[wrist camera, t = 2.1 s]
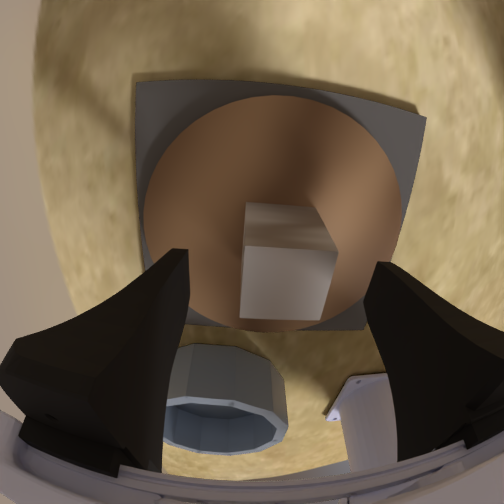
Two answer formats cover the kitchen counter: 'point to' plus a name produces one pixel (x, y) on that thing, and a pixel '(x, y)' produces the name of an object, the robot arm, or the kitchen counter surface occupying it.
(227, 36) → the kitchen counter surface
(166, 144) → the mat
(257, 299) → the lid
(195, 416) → the bowl
